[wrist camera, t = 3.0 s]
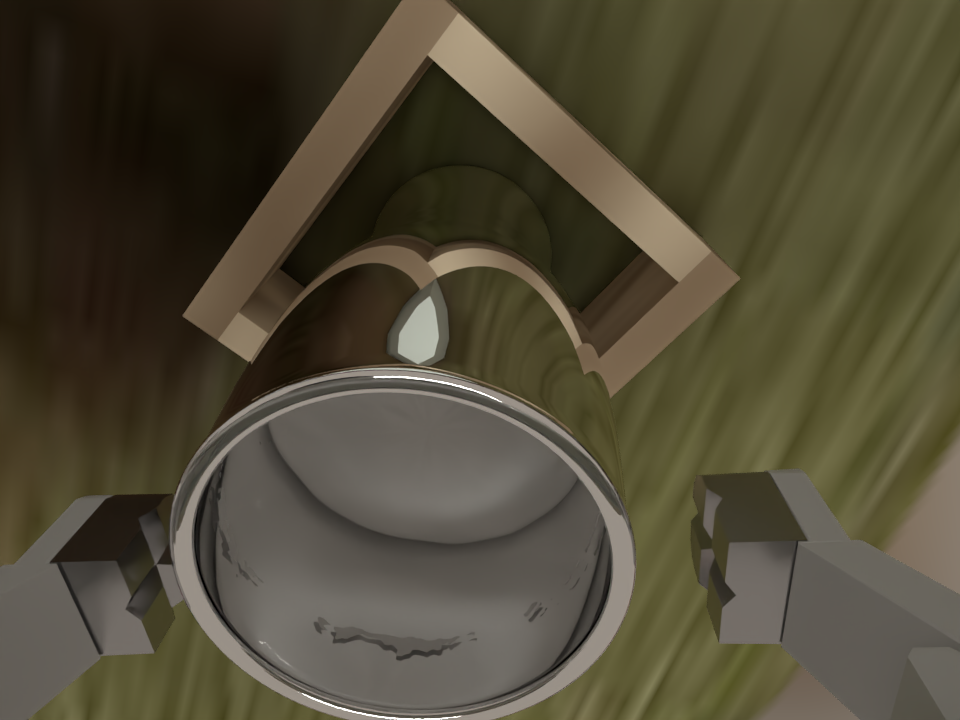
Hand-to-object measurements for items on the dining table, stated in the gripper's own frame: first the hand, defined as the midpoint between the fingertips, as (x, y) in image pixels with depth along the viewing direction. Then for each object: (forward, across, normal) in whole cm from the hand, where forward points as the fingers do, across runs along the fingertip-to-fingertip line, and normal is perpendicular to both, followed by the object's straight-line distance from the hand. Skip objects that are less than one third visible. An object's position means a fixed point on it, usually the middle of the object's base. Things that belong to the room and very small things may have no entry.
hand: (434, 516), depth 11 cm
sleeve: (+14, +1, 0) cm, 14 cm away
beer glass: (+14, +1, 0) cm, 14 cm away
